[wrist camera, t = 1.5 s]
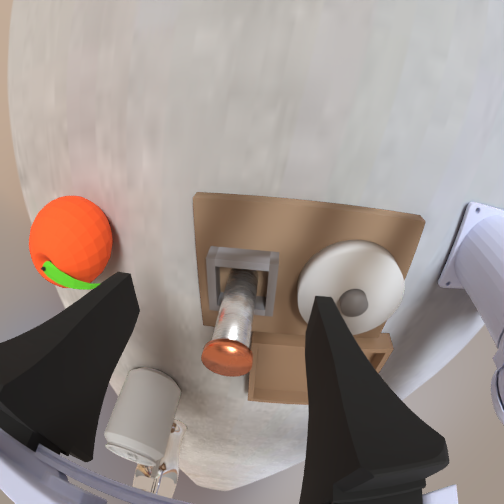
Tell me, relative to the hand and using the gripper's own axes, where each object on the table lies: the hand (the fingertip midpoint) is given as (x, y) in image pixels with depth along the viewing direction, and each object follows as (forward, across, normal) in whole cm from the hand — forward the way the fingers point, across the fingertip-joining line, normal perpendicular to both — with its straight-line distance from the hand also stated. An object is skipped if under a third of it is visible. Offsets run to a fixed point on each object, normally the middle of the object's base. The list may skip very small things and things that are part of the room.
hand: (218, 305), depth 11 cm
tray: (+10, -8, +18) cm, 22 cm away
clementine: (+10, +12, +3) cm, 16 cm away
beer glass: (+10, +12, +42) cm, 45 cm away
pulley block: (+10, -5, +6) cm, 12 cm away
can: (+10, +11, +26) cm, 30 cm away
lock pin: (+9, 0, +6) cm, 11 cm away
